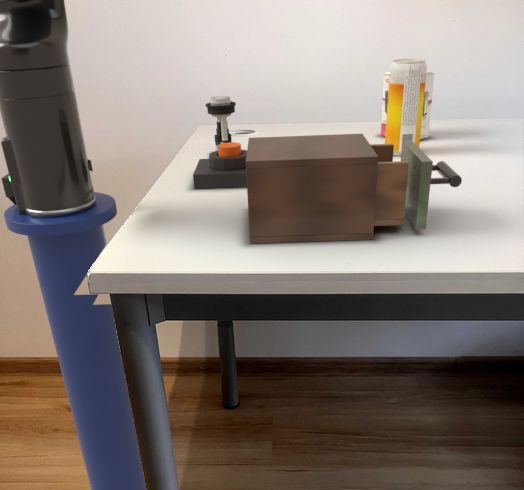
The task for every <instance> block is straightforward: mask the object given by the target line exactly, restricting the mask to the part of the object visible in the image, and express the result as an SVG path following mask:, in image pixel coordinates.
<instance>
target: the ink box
mask: <svg viewBox="0 0 524 490" xmlns="http://www.w3.org/2000/svg"><path fill="white" fill-rule="evenodd" d="M389 74H390V71H387V72H384V73H383V77H382V79H383V81H382V98H381V99H382V100H381V121H380V122H381V123H380V136H381V137H385V134H386V119H387V104H388V89H389ZM434 79H435V73H434V72H433V71H431V70H429V71H428V70H427V72H426V83H425V93H424V103H423V114H422V124H421V135H420V140H424V139H428V138H429V134H430V124H431V111H432V101H433V91H434Z"/></svg>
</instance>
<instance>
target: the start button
mask: <svg viewBox="0 0 524 490" xmlns="http://www.w3.org/2000/svg"><path fill="white" fill-rule="evenodd" d="M241 149H242V144H241V143H240V142H233V141H231V142H228V143H222V144H219V145H218V154H219V156H221V157H234V156H240V155H241Z"/></svg>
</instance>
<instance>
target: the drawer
mask: <svg viewBox="0 0 524 490" xmlns="http://www.w3.org/2000/svg"><path fill="white" fill-rule="evenodd" d="M369 144H370V145H371V147H372V148H373V150H374V151H375V153H376V154H377V155H378V171H377V187H376V203H375V219H374V227H383V226H384V227H385V226H386V227H387V226H389V227H390V226H404V221H405V215H406V216H407V218H408V219H409V221H410V223H411V224H412V225H413V227H414V229H415V230H425V229H426V228H427V221H428V212H429V211H428V210H429V200H430V192H431V185H446V184H447V185H450V187H452V188H457V187H459V186H461V184H462V181H463V180H462V179H463V178H462V176H461V175H459V174H458V173H457V172H456V171H455V170H454V169H453V168H452V167H451V166H450V165H449V164H448V163H447V162H445V161H443V160H441V161H438V162H437V163H436V164H434V162H433V160H432V159H431V158H430V157H429V156H428V155H427V154H426V153H425V152H424V151H423V150H422V149H421V148H420V146H419V147H418V146H417V145H416V144H415V143H414V142H413V141H412V140H403V141H402V150H401V156H400V160H399V161H398V160H396V161H394V160H393V159H394V155H393V150H394V145H393V144H385V143H374V144H373V143H369ZM433 172H437V173H438V174H439V175H440V176H441V177H432V174H433Z"/></svg>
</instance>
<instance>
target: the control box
mask: <svg viewBox="0 0 524 490" xmlns="http://www.w3.org/2000/svg"><path fill="white" fill-rule="evenodd" d="M246 156H247V149H242V148H241V155H240V156H234V157H221V156H219V154H218V151H215V150H214V151H212V152H210V153H209V154H208V158H199V159H198V161H197V164H196V166H195V168H194V172H193V173H192V176H193V177H192V178H193V189H194V190H201V189H202V190H203V189H205V190H206V189H229V188H230V189H231V188H232V189H233V188H247V176H246Z"/></svg>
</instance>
